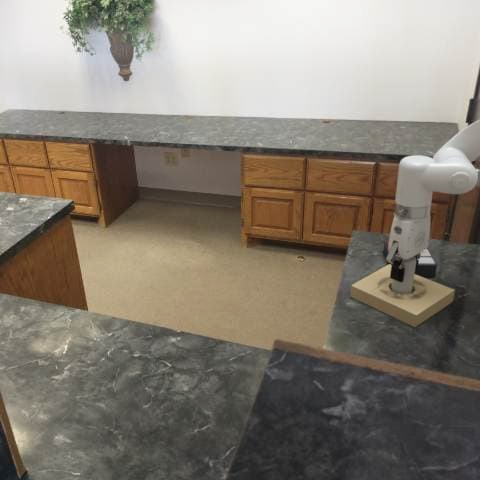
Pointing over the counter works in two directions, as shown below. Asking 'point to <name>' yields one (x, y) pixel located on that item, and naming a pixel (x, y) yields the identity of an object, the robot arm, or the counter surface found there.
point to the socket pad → (402, 297)
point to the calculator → (421, 262)
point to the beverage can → (405, 277)
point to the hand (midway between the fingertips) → (403, 275)
